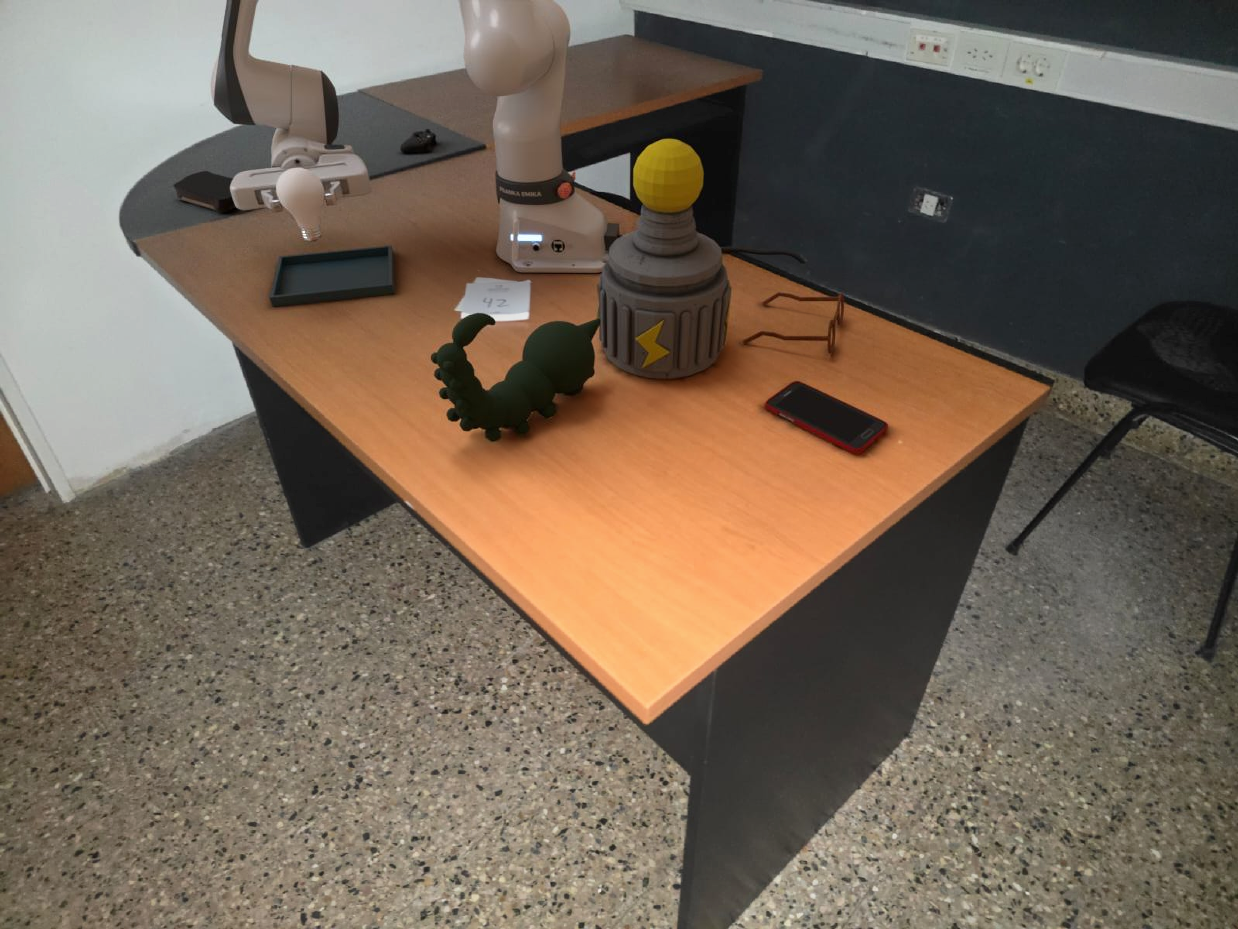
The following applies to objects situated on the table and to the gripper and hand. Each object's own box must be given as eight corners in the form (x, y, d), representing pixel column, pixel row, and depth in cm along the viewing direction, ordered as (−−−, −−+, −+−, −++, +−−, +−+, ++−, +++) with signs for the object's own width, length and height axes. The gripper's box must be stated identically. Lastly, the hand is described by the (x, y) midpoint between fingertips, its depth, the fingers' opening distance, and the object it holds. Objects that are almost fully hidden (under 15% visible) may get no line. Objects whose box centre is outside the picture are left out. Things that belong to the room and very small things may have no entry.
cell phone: (857, 457, 98) (859, 451, 97) (761, 408, 105) (762, 402, 105) (889, 429, 102) (891, 424, 101) (794, 384, 110) (795, 378, 109)
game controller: (411, 135, 187) (425, 117, 184) (429, 152, 189) (443, 135, 186) (397, 149, 180) (411, 131, 177) (415, 167, 182) (430, 149, 179)
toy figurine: (488, 479, 98) (628, 382, 109) (456, 354, 84) (619, 260, 96) (443, 445, 103) (582, 356, 114) (406, 323, 89) (567, 236, 101)
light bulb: (317, 228, 125) (299, 157, 117) (345, 238, 122) (328, 167, 114) (282, 243, 120) (260, 170, 113) (309, 254, 117) (289, 180, 110)
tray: (393, 253, 141) (391, 245, 140) (394, 293, 130) (392, 284, 129) (281, 265, 138) (279, 255, 137) (272, 306, 127) (269, 297, 126)
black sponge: (260, 201, 160) (255, 183, 157) (225, 216, 154) (219, 197, 152) (208, 186, 166) (202, 169, 164) (172, 200, 161) (165, 182, 158)
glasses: (830, 361, 114) (836, 331, 111) (742, 344, 118) (745, 315, 115) (843, 318, 124) (849, 289, 121) (761, 303, 127) (765, 275, 124)
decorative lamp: (719, 390, 109) (740, 172, 89) (586, 376, 112) (578, 162, 92) (729, 321, 123) (750, 121, 104) (611, 311, 126) (609, 113, 106)
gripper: (225, 158, 122) (221, 191, 112) (361, 143, 127) (368, 173, 117) (238, 198, 126) (235, 233, 116) (369, 182, 131) (377, 214, 121)
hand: (303, 203), depth 116 cm, fingers closed on light bulb, 6 cm apart
